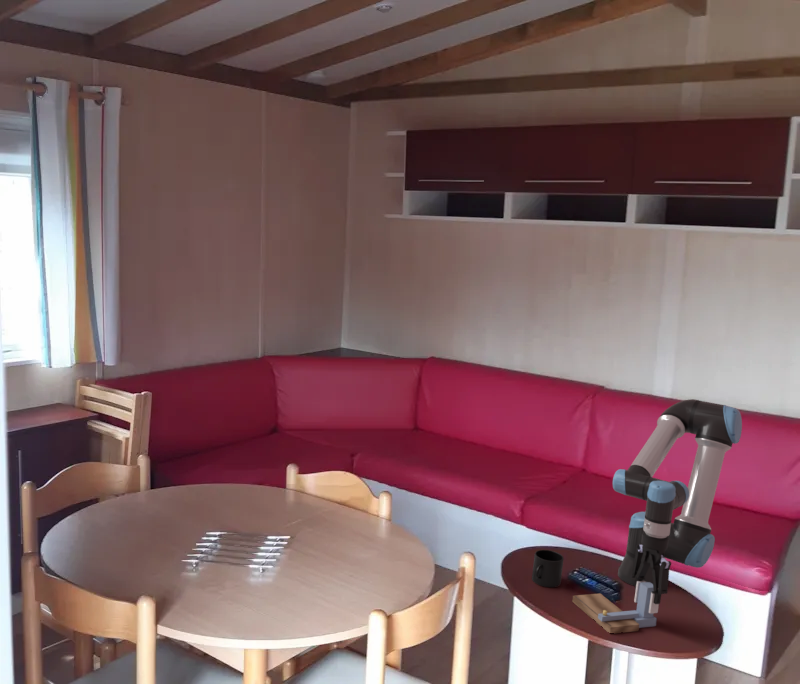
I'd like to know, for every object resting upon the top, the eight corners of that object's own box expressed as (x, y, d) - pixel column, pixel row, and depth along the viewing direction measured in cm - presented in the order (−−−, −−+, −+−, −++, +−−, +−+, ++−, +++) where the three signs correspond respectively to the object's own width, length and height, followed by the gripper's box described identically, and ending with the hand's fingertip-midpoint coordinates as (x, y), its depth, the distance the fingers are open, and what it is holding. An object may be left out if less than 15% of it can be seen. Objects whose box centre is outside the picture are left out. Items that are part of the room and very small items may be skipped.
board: (599, 599, 246) (600, 593, 246) (638, 630, 227) (639, 624, 227) (572, 601, 242) (573, 595, 242) (609, 633, 224) (610, 627, 223)
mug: (522, 582, 253) (525, 556, 252) (541, 572, 262) (544, 547, 261) (547, 592, 247) (550, 566, 246) (565, 582, 256) (568, 556, 255)
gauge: (645, 617, 236) (650, 580, 234) (655, 626, 231) (660, 588, 230) (594, 623, 230) (599, 584, 228) (603, 631, 225) (608, 592, 223)
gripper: (625, 522, 237) (616, 593, 240) (666, 547, 219) (655, 623, 222) (645, 521, 239) (636, 591, 242) (688, 545, 221) (677, 621, 224)
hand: (645, 607), depth 232 cm, fingers open, 6 cm apart
